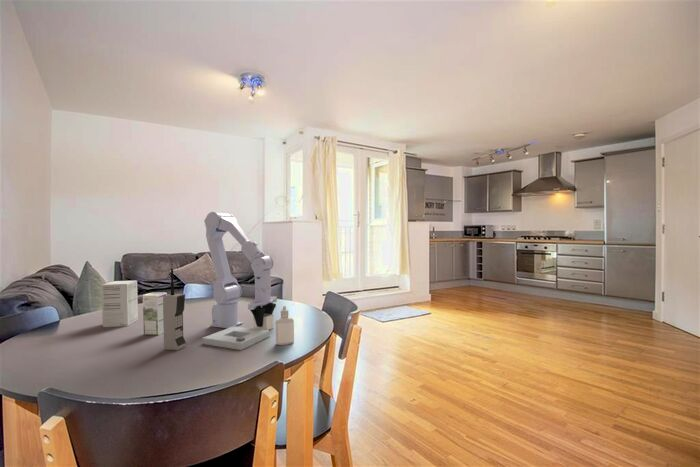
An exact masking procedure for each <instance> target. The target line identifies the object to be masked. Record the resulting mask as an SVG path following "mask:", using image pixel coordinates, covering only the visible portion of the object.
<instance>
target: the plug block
mask: <svg viewBox="0 0 700 467" xmlns="http://www.w3.org/2000/svg"><path fill="white" fill-rule="evenodd" d="M274 328H275V326H274V314H273V313H272V314H267V313H264V317H263V326H262V327H257V325H256V321H255V318H254V316H253V329H260V330H268V331H270V330H273V329H274ZM269 329H270V330H269Z"/></svg>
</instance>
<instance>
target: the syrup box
mask: <svg viewBox="0 0 700 467" xmlns="http://www.w3.org/2000/svg"><path fill="white" fill-rule="evenodd" d="M166 295H168V293H167V292H149V293H145V294H143V295H142V316H143V317H142V320H143V321H142V322H143V335H144V336H160V335H162V334H164V324H163V296H166Z"/></svg>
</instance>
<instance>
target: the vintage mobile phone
mask: <svg viewBox="0 0 700 467" xmlns="http://www.w3.org/2000/svg"><path fill="white" fill-rule="evenodd" d="M170 275H171V276H170V280H171V281H170V293H169V294H167V295H166V296H163V324H164V333H163V350H166V351H180V350H181V349H183V348H185V347H187V342H186V339H185V337H184V310H185V306H186V305H185V301H186V294H185V293H175V283H174V269H173V268H171V269H170Z"/></svg>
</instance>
